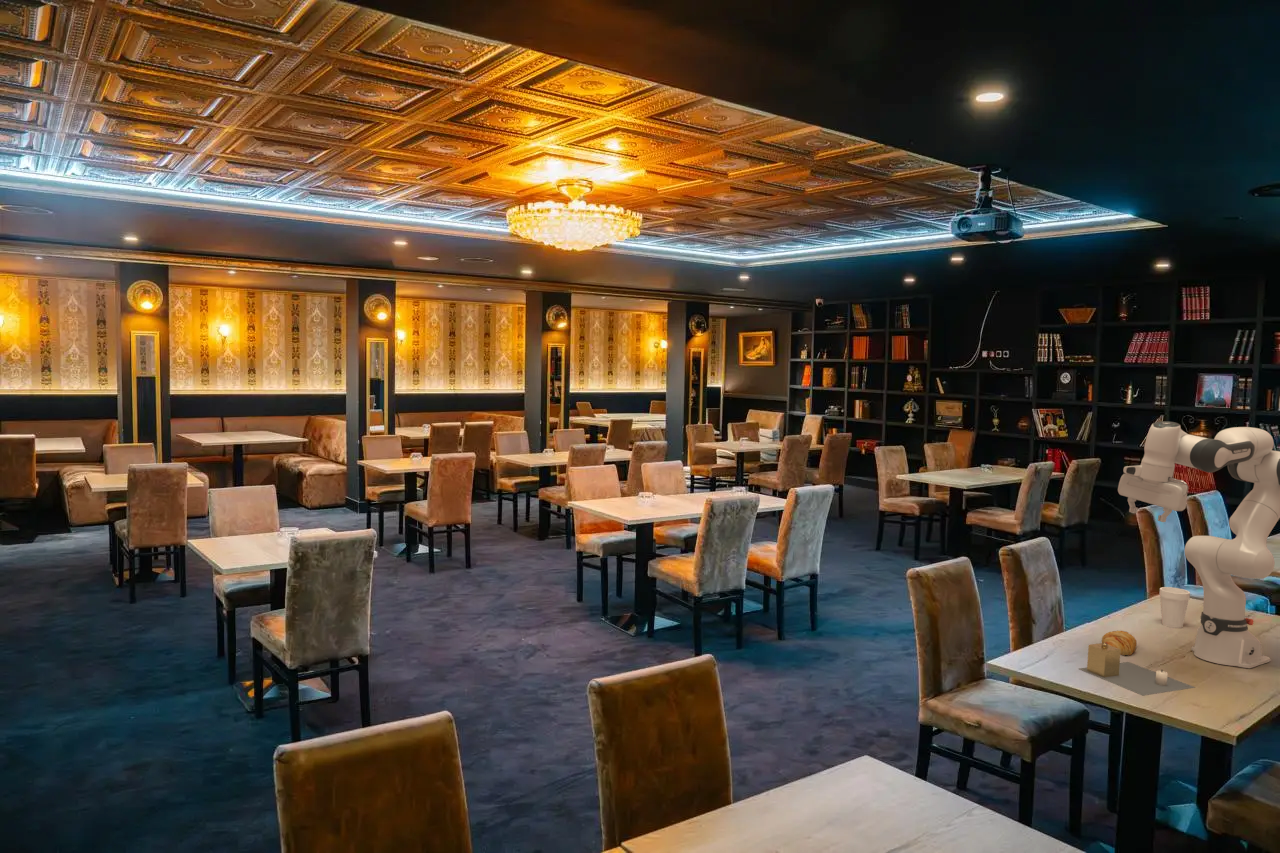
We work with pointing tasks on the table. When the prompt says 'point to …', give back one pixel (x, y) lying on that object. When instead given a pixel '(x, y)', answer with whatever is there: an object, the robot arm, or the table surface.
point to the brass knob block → (1103, 659)
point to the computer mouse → (1161, 678)
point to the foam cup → (1173, 606)
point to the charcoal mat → (1141, 680)
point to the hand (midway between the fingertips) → (1146, 517)
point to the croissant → (1121, 641)
